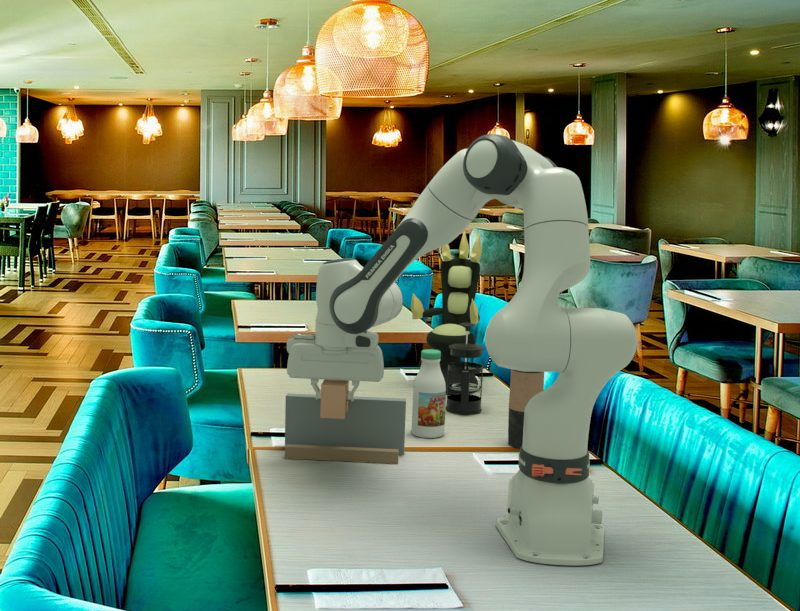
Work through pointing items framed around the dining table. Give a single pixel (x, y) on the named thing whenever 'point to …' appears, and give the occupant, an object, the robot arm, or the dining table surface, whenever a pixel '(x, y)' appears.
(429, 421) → the milk bottle
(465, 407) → the french press
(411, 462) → the dining table surface
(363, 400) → the cleat board
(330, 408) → the block
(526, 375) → the travel mug
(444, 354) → the miniature padded chair
